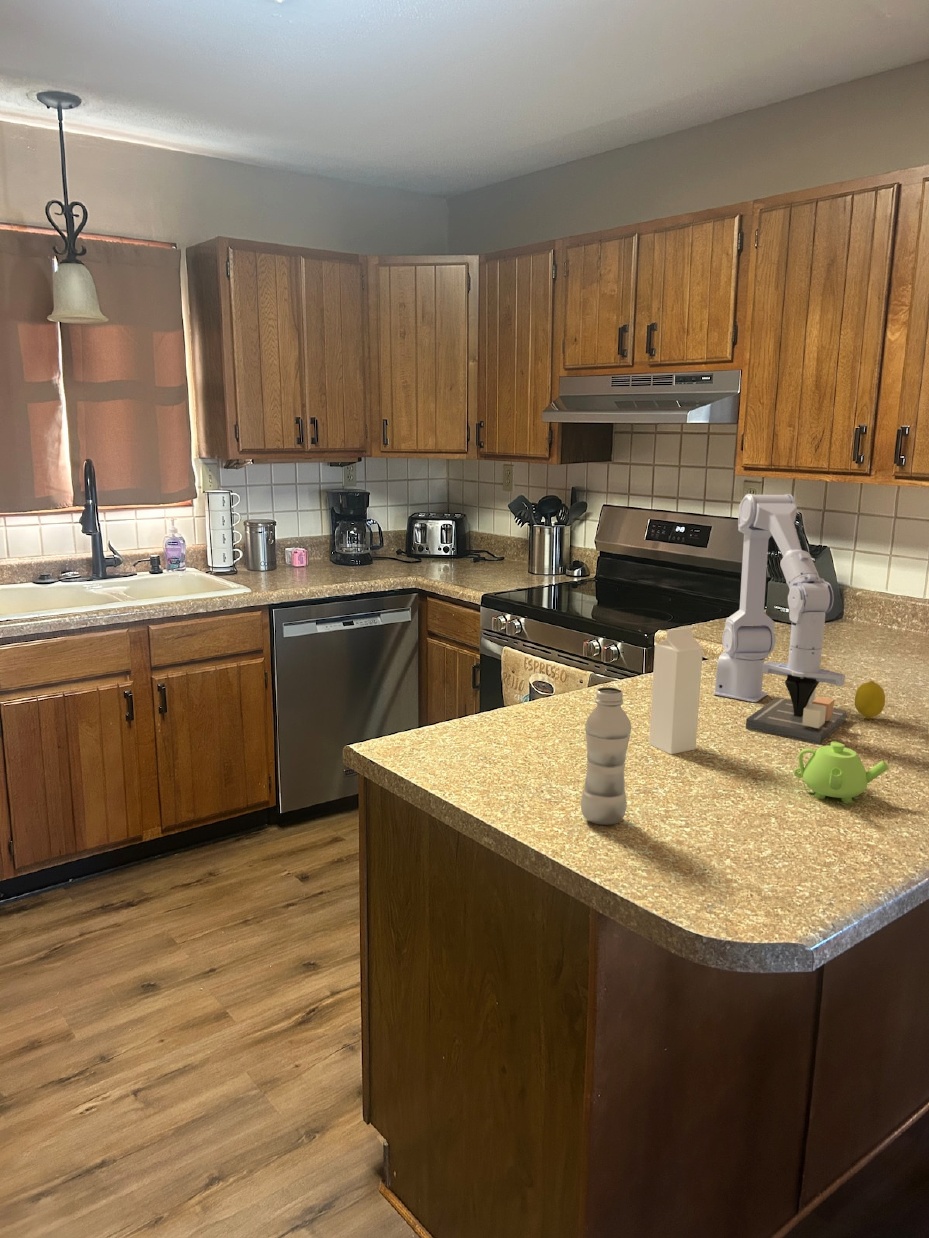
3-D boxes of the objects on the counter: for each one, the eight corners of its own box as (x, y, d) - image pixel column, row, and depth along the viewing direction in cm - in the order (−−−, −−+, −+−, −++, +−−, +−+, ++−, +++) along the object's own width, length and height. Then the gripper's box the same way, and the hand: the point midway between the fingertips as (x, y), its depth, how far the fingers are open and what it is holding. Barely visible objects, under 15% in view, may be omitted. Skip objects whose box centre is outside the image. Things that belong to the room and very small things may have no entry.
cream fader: (802, 724, 170) (803, 708, 169) (808, 719, 173) (810, 703, 172) (818, 728, 168) (820, 711, 168) (824, 722, 171) (826, 706, 171)
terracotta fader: (810, 717, 174) (812, 701, 174) (816, 712, 178) (818, 696, 177) (826, 720, 173) (828, 704, 172) (832, 715, 176) (834, 699, 175)
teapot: (780, 786, 147) (784, 736, 146) (833, 776, 152) (839, 728, 150) (832, 813, 137) (838, 760, 136) (888, 802, 142) (894, 751, 140)
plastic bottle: (575, 812, 136) (581, 684, 132) (619, 811, 137) (626, 683, 133) (584, 830, 130) (591, 697, 126) (631, 829, 131) (638, 696, 126)
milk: (695, 749, 164) (705, 630, 159) (670, 755, 161) (679, 634, 156) (672, 739, 169) (681, 623, 164) (647, 744, 166) (655, 627, 161)
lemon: (885, 724, 179) (890, 685, 177) (855, 722, 180) (860, 683, 178) (879, 715, 184) (883, 678, 183) (850, 713, 185) (854, 676, 184)
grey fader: (792, 705, 182) (794, 690, 181) (798, 701, 185) (800, 685, 184) (808, 708, 180) (809, 692, 179) (814, 704, 183) (815, 688, 182)
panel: (745, 728, 175) (746, 718, 175) (775, 706, 189) (776, 697, 189) (820, 744, 167) (821, 733, 167) (845, 720, 181) (846, 710, 181)
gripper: (760, 643, 170) (754, 712, 173) (840, 656, 162) (832, 728, 165) (772, 637, 176) (766, 704, 179) (850, 648, 167) (843, 719, 170)
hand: (799, 715), depth 172 cm, fingers closed
